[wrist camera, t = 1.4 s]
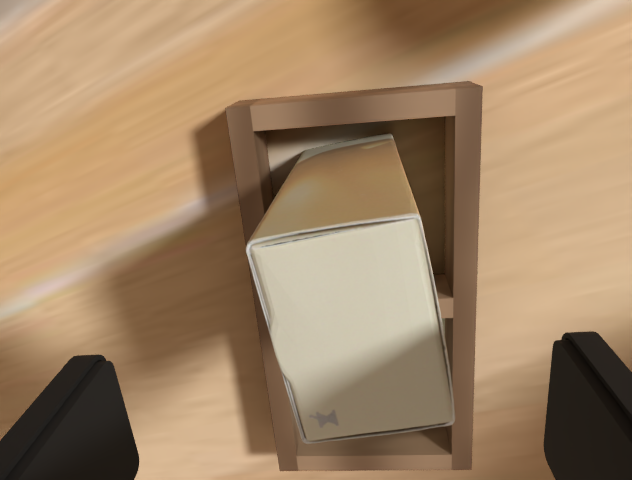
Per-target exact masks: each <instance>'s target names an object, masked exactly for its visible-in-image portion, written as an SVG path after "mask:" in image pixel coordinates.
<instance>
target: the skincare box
mask: <svg viewBox="0 0 632 480" xmlns="http://www.w3.org/2000/svg"><path fill="white" fill-rule="evenodd" d="M246 254H247V257H248V260H249V264H250V267H251V271H252V274H253V278H254V282H255V285H256V289H257V292H258V295H259V299H260V302H261V306H262V309H263V313H264V316H265V319H266V322H267V326H268V330H269V334H270V337H271V341H272V344H273V347H274V351H275V355H276V358H277V361H278V363H279V366H280V369H281V372H282V375H283V379H284V382H285V386H286V389H287V393H288V396H289V399H290V402H291V405H292V409H293V412H294V416H295V419H296V422H297V425H298V428H299V432H300V436H301V439H302V441H303V442H304V443H306V444H311V443H320V442H326V441H337V440H345V439H355V438H363V437H371V436H380V435H389V434H396V433H404V432H412V431H419V430H425V429H429V428H435V427H443V426H450V425H452V424H453V423H454V422H455V410H454V398H453V388H452V380H451V372H450V365H449V359H448V352H447V346H446V340H445V334H444V329H443V323H442V318H441V312H440V307H439V302H438V296H437V291H436V286H435V282H434V276H433V271H432V267H431V262H430V257H429V252H428V248H427V244H426V239H425V234H424V229H423V224H422V220H421V217H420V214H419V211H418V208H417V205H416V202H415V199H414V197H413V194H412V191H411V188H410V185H409V182H408V180H407V177H406V174H405V171H404V168H403V165H402V163H401V160H400V156H399V154H398V151H397V147H396V144H395V141H394V138H393V135H392V134H390V133H388V134H382V135H377V136H371V137H365V138H360V139H355V140H350V141H344V142H339V143H335V144H330V145H325V146H321V147H316V148H312V149H308V150H305V151H304V152H303V153H302V154H301V156H300V158H299V159H298V161H297V162H296V164H295V166H294V167H293V169H292V171H291V172H290V174H289V176H288V177H287V179H286V180H285V182H284V184H283V185H282V187H281V189H280V190H279V192H278V194H277V195H276V197H275V198H274V200H273V202H272V204H271V205H270V207H269V208H268V210H267V212H266V213H265V215H264V217H263V218H262V220H261V222H260V223H259V225H258V226H257V228H256V230H255V231H254V233H253V235H252V236H251V238H250V240H249V241H248V243H247V246H246Z"/></svg>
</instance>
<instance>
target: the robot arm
mask: <svg viewBox="0 0 632 480" xmlns="http://www.w3.org/2000/svg"><path fill="white" fill-rule="evenodd" d="M544 452H545V456H546V460H547V462H548V465H549V467H550V469H551V471H552V473H553V475H554V477H555V479H556V480H632V372H631V371H630V370H629V369H628V368H627V366H626V365H625V364H624V363H623V362H622V361H621V359H620V358H619V357H618V356H617V355H616V354H615V353H614V351H613V350H612V349H611V348H610V347H609V346H608V344H607V343H606V342H605V341H604V340H603V339H602V337H601V336H600V335H599V334H598V333H596V332H572V333H565V334H563V336H562V340H556V341H555V342H554V344H553V351H552V361H551V372H550V382H549V393H548V404H547V414H546V425H545V435H544ZM138 467H139V455H138V451H137V447H136V444H135V440H134V437H133V433H132V429H131V426H130V422H129V419H128V415H127V411H126V408H125V404H124V401H123V397H122V394H121V390H120V386H119V383H118V379H117V376H116V372H115V368H114V366H113V363H112V362H110V361H106V359H105V358H104V356H102V355H82V356H74V357H72V358H71V359H70V360H69V361H68V362H67V364H66V365H65V366H64V367H63V368H62V369H61V371H60V372H59V373H58V374H57V375H56V376H55V378H54V379H53V380H52V381H51V382H50V383H49V385H48V386H47V387H46V388H45V389H44V390H43V392H42V393H41V394H40V395H39V396H38V397H37V399H36V400H35V401H34V402H33V403H32V404H31V406H30V407H29V408H28V409H27V410H26V411H25V413H24V414H23V415H22V416H21V417H20V418H19V420H18V421H17V422H16V423H15V424H14V425H13V427H12V428H11V429H10V430H9V431H8V432H7V434H6V435H5V436H4V437H3V438H2V439H1V441H0V480H134V478H135V476H136V474H137V471H138Z"/></svg>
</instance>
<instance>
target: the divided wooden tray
mask: <svg viewBox="0 0 632 480" xmlns="http://www.w3.org/2000/svg"><path fill="white" fill-rule="evenodd" d="M482 90H483V86H480V85H478V84H475V83H472V82H470V81H467V82H455V83H443V84H431V85H420V86H408V87H396V88H384V89H373V90H361V91H349V92H337V93H325V94H314V95H302V96H290V97H278V98H267V99H255V100H243V101H238V102H236V103H234V104H232V105H230V106H228V107H226V108H225V109H226V116H227V123H228V129H229V136H230V143H231V149H232V156H233V163H234V169H235V176H236V182H237V189H238V196H239V202H240V209H241V216H242V222H243V229H244V236H245V242H246V246H247V243H248V241H249V240H250V238H251V236H252V235H253V233H254V231H255V230H256V228H257V226H258V225H259V223H260V222H261V220H262V218H263V217H264V215H265V213H266V212H267V210H268V208H269V207H270V205H271V204H272V202H273V200H274V199H273V191H272V183H271V175H270V167H269V159H268V151H267V143H266V135H265V130H276V129H289V128H301V127H314V126H327V125H340V124H352V123H365V122H378V121H391V120H403V119H416V118H429V117H442V116H445V274H434V275H433V276H434V282H435V286H436V291H437V296H438V302H439V307H440V312H441V318H442V323H443V329H444V334H445V340H446V346H447V352H448V359H449V365H450V372H451V380H452V388H453V398H454V410H455V422H454V423H453V424H452V425H450V426H443V427H435V428H429V429H425V430H419V431H412V432H404V433H396V434H389V435H380V436H371V437H363V438H355V439H345V440H337V441H326V442H320V443H311V444H306V443H304V442H303V441H302V439H301V436H300V432H299V428H298V425H297V422H296V419H295V416H294V412H293V409H292V405H291V402H290V399H289V396H288V393H287V389H286V386H285V382H284V379H283V375H282V372H281V369H280V366H279V363H278V361H277V358H276V355H275V351H274V347H273V344H272V341H271V337H270V334H269V330H268V326H267V322H266V319H265V316H264V313H263V309H262V306H261V302H260V299H259V295H258V292H257V289H256V285H255V282H254V278H253V274H252V271H251V267H250V264H249V269H250V276H251V282H252V289H253V296H254V302H255V309H256V316H257V322H258V329H259V336H260V342H261V349H262V355H263V362H264V369H265V375H266V382H267V389H268V395H269V402H270V409H271V415H272V422H273V429H274V435H275V442H276V449H277V455H278V462H279V469H280V471H354V470H471V468H472V434H473V399H474V365H475V330H476V296H477V262H478V227H479V193H480V159H481V124H482ZM248 262H249V260H248Z"/></svg>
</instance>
